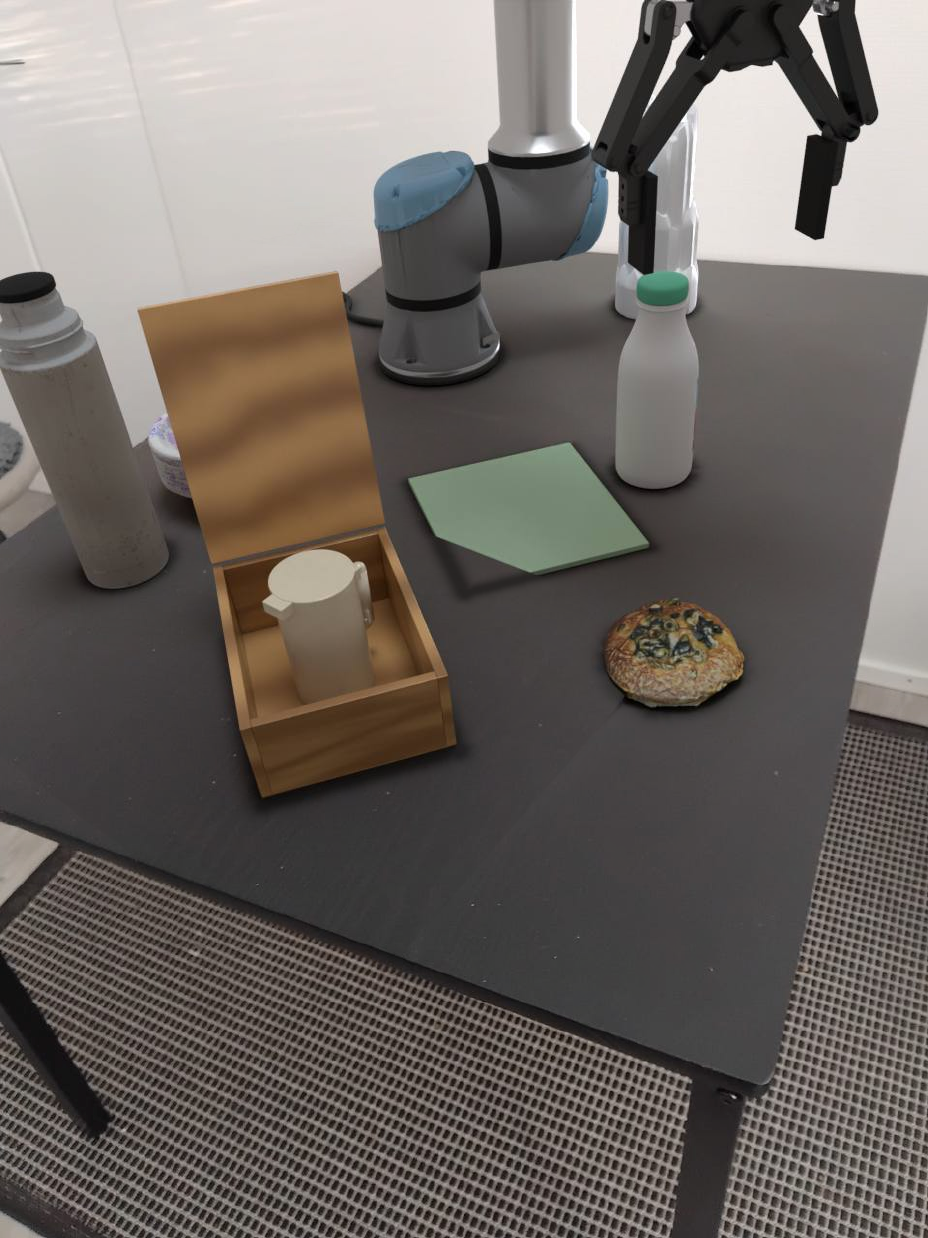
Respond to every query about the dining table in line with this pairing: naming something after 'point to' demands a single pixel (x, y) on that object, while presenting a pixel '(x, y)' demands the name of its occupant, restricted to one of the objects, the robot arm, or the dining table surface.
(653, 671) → the bread roll
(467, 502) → the mat
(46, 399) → the thermos bottle
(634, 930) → the dining table surface
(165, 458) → the paper bowls
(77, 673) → the dining table surface
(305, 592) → the jug
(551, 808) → the dining table surface
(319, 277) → the chest lid
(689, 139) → the decorative vase
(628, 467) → the milk bottle
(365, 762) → the chest
